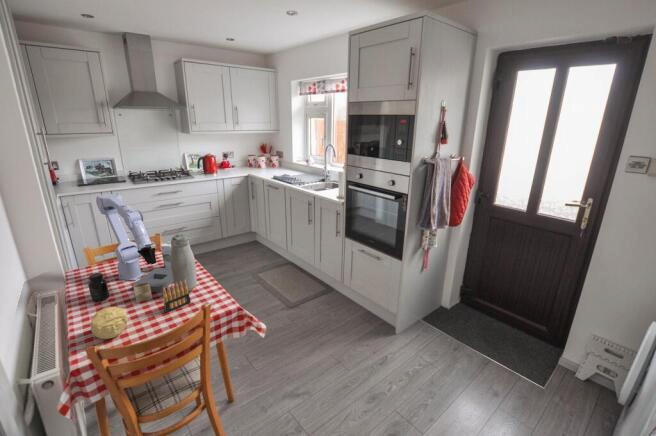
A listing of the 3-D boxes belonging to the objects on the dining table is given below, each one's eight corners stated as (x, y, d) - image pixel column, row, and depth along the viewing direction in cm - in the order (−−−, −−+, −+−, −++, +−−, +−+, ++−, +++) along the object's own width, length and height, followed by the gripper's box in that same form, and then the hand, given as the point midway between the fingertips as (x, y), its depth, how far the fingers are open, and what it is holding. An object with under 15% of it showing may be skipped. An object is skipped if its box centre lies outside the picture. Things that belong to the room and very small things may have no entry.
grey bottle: (201, 289, 155) (195, 235, 146) (180, 297, 148) (172, 241, 139) (192, 282, 161) (185, 230, 153) (171, 290, 154) (163, 235, 145)
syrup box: (180, 265, 178) (176, 241, 174) (174, 270, 173) (170, 245, 168) (170, 265, 179) (166, 241, 174) (164, 270, 173) (160, 245, 169)
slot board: (133, 289, 154) (132, 284, 153) (156, 272, 171) (156, 267, 170) (160, 292, 152) (159, 287, 151) (181, 274, 169) (180, 269, 168)
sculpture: (99, 348, 116) (92, 323, 113) (89, 333, 123) (83, 309, 120) (133, 333, 124) (128, 309, 121) (123, 320, 132) (118, 297, 128)
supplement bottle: (113, 296, 148) (108, 272, 145) (99, 304, 142) (93, 279, 138) (102, 293, 150) (97, 270, 147) (88, 301, 144) (82, 277, 141)
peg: (137, 302, 144) (134, 288, 141) (135, 298, 147) (133, 284, 144) (152, 298, 147) (149, 284, 145) (150, 294, 150) (148, 280, 148)
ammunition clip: (166, 313, 136) (162, 288, 133) (164, 311, 138) (160, 287, 134) (190, 303, 144) (187, 279, 140) (188, 301, 145) (185, 277, 141)
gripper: (146, 231, 142) (158, 259, 142) (153, 234, 156) (164, 260, 156) (129, 237, 140) (141, 266, 140) (137, 240, 153) (148, 266, 153)
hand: (152, 263), depth 147 cm, fingers open, 7 cm apart
